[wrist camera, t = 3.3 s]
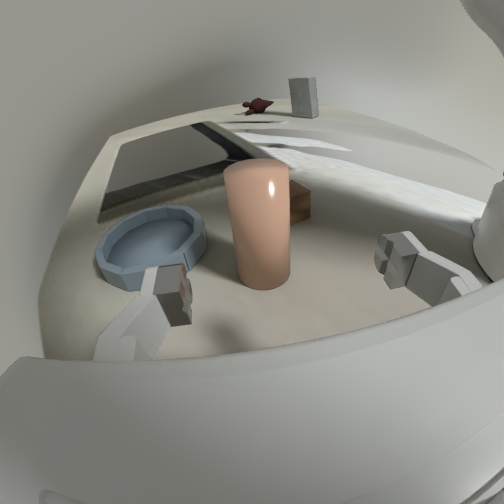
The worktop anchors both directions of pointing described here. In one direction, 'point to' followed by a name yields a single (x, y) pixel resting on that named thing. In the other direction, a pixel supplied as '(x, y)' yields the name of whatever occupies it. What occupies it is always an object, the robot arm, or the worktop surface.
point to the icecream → (257, 106)
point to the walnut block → (298, 202)
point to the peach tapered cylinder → (260, 220)
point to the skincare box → (304, 97)
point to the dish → (150, 243)
